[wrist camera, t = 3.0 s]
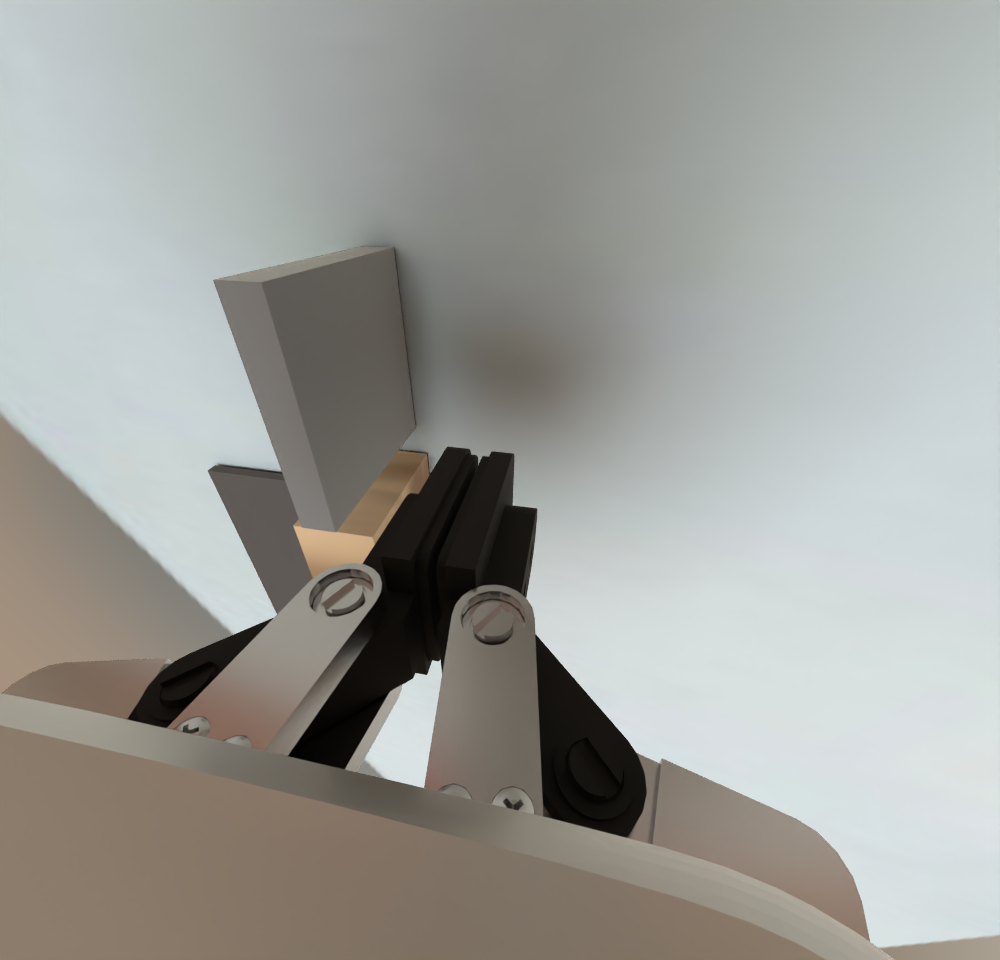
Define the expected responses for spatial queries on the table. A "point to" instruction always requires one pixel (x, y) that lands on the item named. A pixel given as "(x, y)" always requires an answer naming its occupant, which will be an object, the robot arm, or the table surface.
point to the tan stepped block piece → (365, 516)
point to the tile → (326, 372)
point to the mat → (265, 528)
